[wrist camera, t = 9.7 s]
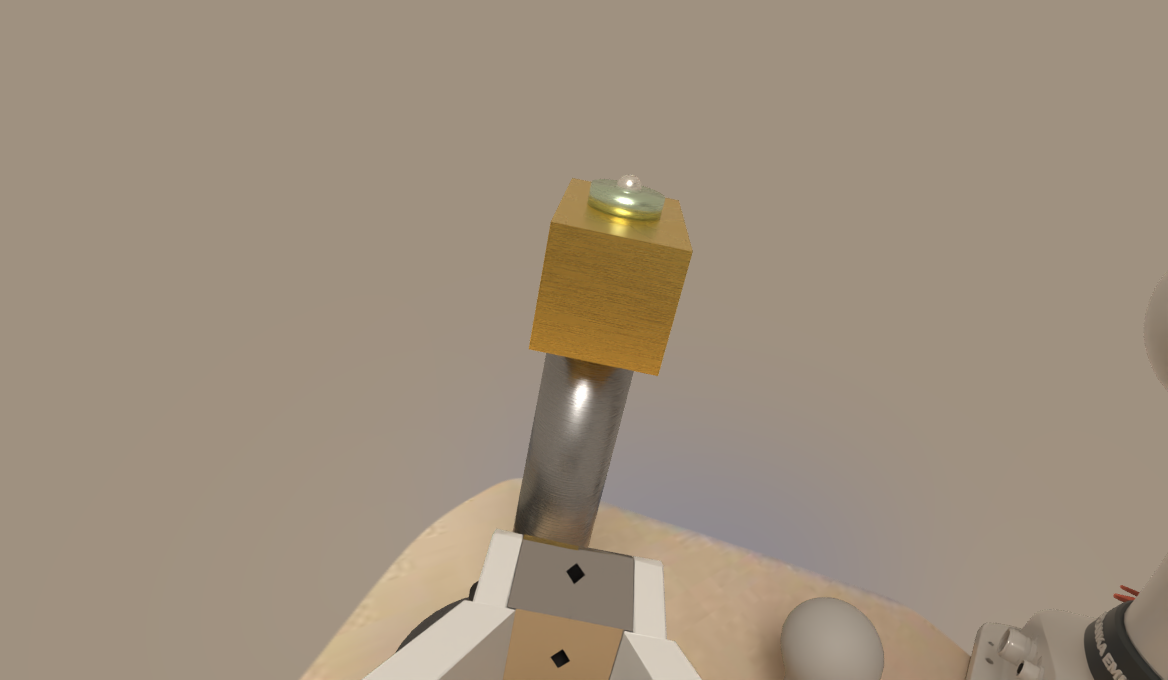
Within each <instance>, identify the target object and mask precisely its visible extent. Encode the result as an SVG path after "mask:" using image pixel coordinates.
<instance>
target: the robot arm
mask: <svg viewBox="0 0 1168 680" xmlns="http://www.w3.org/2000/svg"><path fill="white" fill-rule="evenodd" d="M1144 340H1145V347H1146V351H1147V355H1148V358H1149V361H1150V363H1151V365H1152V368H1153V370H1154V372H1155V374H1156V376H1157V377H1158V379H1159V381H1160V382H1161V383H1162V385H1163V386H1164V387H1165V389H1166V390H1167V391H1168V271H1167V272H1166V273H1165V274H1164V276H1163V277H1162V278H1161V280H1160V281H1159V283H1158V285H1157V286H1156V288H1155V290H1154V292H1153V294H1152V296H1151V298H1150V301H1149V304H1148V307H1147V310H1146V314H1145V322H1144ZM1120 587H1121V588H1122V589H1123V590H1125V591H1127V592H1129V593H1131V594H1133V595H1135V596H1137V597H1136V598H1133V597H1129V596H1124V595H1120V594H1114V598H1116V599H1118V600H1120V601H1122V602H1124V603H1122V604H1120V605H1119V606H1117V607H1115V608H1113V609H1112V610H1110V611H1109V612H1105V613H1103V614H1102V615H1101V616H1099V617H1098V618H1092V617H1088V616H1084V615H1080V614H1076V613H1072V612H1068V611H1062V610H1051V609H1049V610H1042V611H1039V612H1037V613H1036V614H1034V616H1032V617H1031V618H1030V620H1029V621H1028V622H1027V623H1026V625H1025V626H1024V628H1023V629H1021V628H1017V627H1013V626H1009V625H1004V624H997V623H985V624H983V626H982V627H981V628H980V629H979V630H978V632H977V636H976V639H975V643H974V647H973V651H972V656H971V660H970V664H969V668H968V672H967V676H966V680H1168V553H1167V555H1166V556H1165V558H1164V559H1163V561H1162V563H1161V564H1160V565H1159V567H1158V568H1157V570H1156V571H1155V572H1154V574H1153V575H1152V577H1151V578H1150V580H1149V581H1148V582H1147V584H1146V585H1145V586H1144V588H1143V589H1142V590H1141V592H1137V591H1135V590H1132V589H1130V588H1128V587H1125V586H1123V585H1121V586H1120ZM362 680H702V679H701V678H700V676H699V675H698V673H697V672H696V670H695V669H694V668H693V666H692V665H691V663H690V662H689V660H688V659H687V657H686V656H685V655H684V653H683V652H682V650H681V649H680V647H679V646H678V645H677V643H676V642H675V641H671V640H667V633H666V612H665V592H664V571H663V564H662V562H661V561H658V560H653V559H647V558H642V557H636V556H633V557H632V556H630V555H624V554H619V553H614V552H608V551H603V550H598V549H592V548H587V547H582V546H575V545H571V544H566V543H562V542H557V541H553V540H548V539H544V538H539V537H535V536H530V535H526V534H524V537H523V535H522V534H518V533H514V532H509V531H505V530H501V529H496V530H495V531H494V533H493V535H492V539H491V542H490V545H489V549H488V552H487V555H486V559H485V562H484V565H483V569H482V572H481V575H480V579H479V582H478V585H477V589H476V592H475V595H474V599H473V601H467V600H464V601H462V602H461V603H460V604H458V605H457V606H456V607H455V608H453V609H452V610H451V611H449V612H448V613H447V614H445V615H444V616H443V617H442V618H440V619H439V620H438V621H436V622H435V623H434V624H433V625H431V626H430V627H429V628H427V629H426V630H425V631H424V632H422V633H421V634H420V635H418V636H417V637H416V638H415V639H413V640H412V641H411V642H409V643H408V644H407V645H405V646H404V647H403V648H402V649H400V650H399V651H398V652H396V653H395V654H394V655H393V656H391V657H390V658H389V659H387V660H386V661H385V662H384V663H382V664H381V665H380V666H378V667H377V668H376V669H375V670H373V671H372V672H371V673H369V674H368V675H367V676H366V677H364V678H363V679H362Z"/></svg>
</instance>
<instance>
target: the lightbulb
mask: <svg viewBox="0 0 1168 680" xmlns="http://www.w3.org/2000/svg"><path fill="white" fill-rule="evenodd" d="M780 642H781V652H782V658H783V662H784V666H785V678H784V680H880V679H881V676H882V672H883V668H884V651H883V647H882V643H881V640H880V637H879V635H878V633H877V631H876V629H875V627H874V626H873V624H872V623H871V621H870V620H869V619H868V618H867V617H866V616H865V615H864V614H863V613H862V612H861V611H859V610H858V609H857V608H855V607H854V606H852V605H850V604H849V603H847V602H844V601H842V600H839V599H835V598H814V599H810V600H807V601H805V602H803V603H801V604H800V605H798V606H797V607H796V608H795V609H794V610H793V611H792V612H791V613H790V614H789V615H788V617H787V619H786V621H785V623H784V625H783V628H782V633H781V641H780Z"/></svg>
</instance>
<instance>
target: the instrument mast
mask: <svg viewBox="0 0 1168 680" xmlns="http://www.w3.org/2000/svg"><path fill="white" fill-rule="evenodd" d="M692 252H693V251H692V247H691V244H690V240H689V236H688V233H687V229H686V225H685V222H684V218H683V214H682V211H681V207H680V203H679V200H674V199H669V198H665V197H664V195H662V194H661V193H659V192H657V191H655V190H653V189H650V188H647V187H644V186H641V182H640V180H639V179H638V178H637V177H636V176H634V175H630V174H628V175H624V176H622V177H621V178H620V179H619V180H618V181H617V180H607V179H599V180H593V181H592V182H589V181H584V180H580V179H575V178H572V180H571V182H570V184H569V186H568V188H567V190H566V192H565V194H564V196H563V198H562V200H561V202H560V204H559V206H558V208H557V210H556V212H555V214H554V216H553V218H552V220H551V224H550V230H549V235H548V241H547V247H546V253H545V258H544V264H543V270H542V276H541V282H540V288H539V293H538V299H537V305H536V310H535V317H534V322H533V328H532V334H531V339H530V345H529V349H531V350H535V351H540V352H545V353H546V358H545V363H544V369H543V374H542V379H541V385H540V390H539V396H538V401H537V406H536V411H535V417H534V422H533V427H532V433H531V438H530V443H529V448H528V454H527V459H526V465H525V470H524V476H523V480H522V486H521V491H520V496H519V502H518V507H517V512H516V518H515V523H514V528H513V532H514V533H518V534H522V535H523V537H524V534H526V535H530V536H535V537H539V538H544V539H548V540H553V541H557V542H562V543H566V544H571V545H575V546H582V547H587V548H588V546H589V542H590V538H591V534H592V530H593V526H594V523H595V519H596V515H597V511H598V507H599V503H600V499H601V496H602V492H603V488H604V484H605V480H606V476H607V472H608V469H609V465H610V461H611V457H612V453H613V449H614V445H615V442H616V438H617V434H618V430H619V426H620V422H621V418H622V414H623V411H624V407H625V403H626V399H627V395H628V391H629V387H630V383H631V380H632V376H633V372H634V371H636V372H641V373H646V374H651V375H656V376H658V374H659V370H660V367H661V363H662V360H663V356H664V352H665V349H666V345H667V342H668V338H669V335H670V331H671V327H672V324H673V320H674V316H675V313H676V309H677V306H678V302H679V299H680V295H681V291H682V288H683V284H684V281H685V277H686V274H687V270H688V266H689V263H690V259H691V256H692Z"/></svg>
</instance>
